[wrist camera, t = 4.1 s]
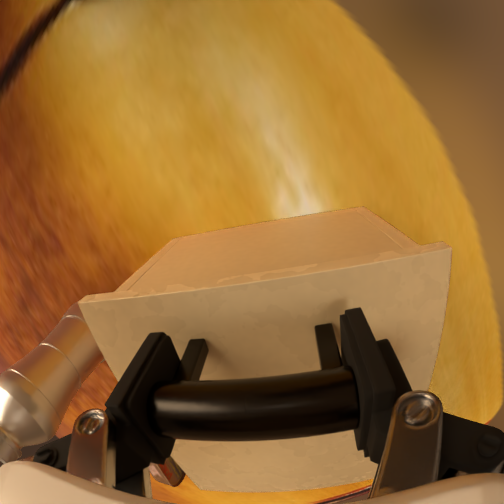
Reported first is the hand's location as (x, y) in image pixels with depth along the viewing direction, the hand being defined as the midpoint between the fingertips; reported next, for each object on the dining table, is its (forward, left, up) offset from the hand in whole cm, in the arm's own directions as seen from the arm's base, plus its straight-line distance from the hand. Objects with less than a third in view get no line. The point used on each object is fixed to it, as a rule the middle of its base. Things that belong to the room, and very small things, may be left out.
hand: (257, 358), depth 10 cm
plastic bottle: (+5, -19, -14) cm, 24 cm away
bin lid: (+7, 0, -2) cm, 7 cm away
